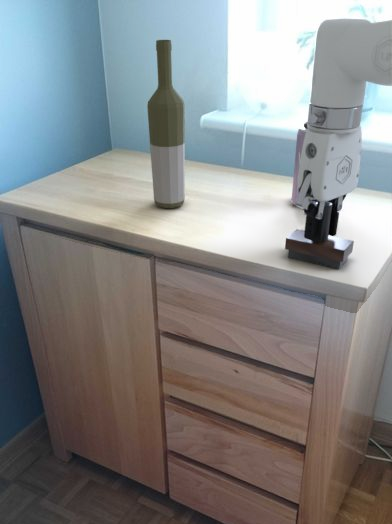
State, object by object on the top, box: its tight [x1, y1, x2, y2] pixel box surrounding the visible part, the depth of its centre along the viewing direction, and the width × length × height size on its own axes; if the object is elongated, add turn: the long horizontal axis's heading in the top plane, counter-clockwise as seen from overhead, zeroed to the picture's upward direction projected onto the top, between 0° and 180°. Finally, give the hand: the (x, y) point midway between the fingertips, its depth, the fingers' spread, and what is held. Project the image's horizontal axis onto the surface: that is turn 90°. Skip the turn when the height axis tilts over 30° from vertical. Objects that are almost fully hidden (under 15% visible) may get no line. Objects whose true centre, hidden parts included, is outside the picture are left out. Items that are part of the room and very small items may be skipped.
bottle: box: [147, 39, 186, 209], centre depth 108 cm, size 7×7×30 cm
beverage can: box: [291, 124, 316, 205], centre depth 112 cm, size 6×6×15 cm
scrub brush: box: [284, 202, 355, 270], centre depth 91 cm, size 10×5×10 cm, turn 58°
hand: (320, 235), depth 91 cm, fingers open, 3 cm apart
